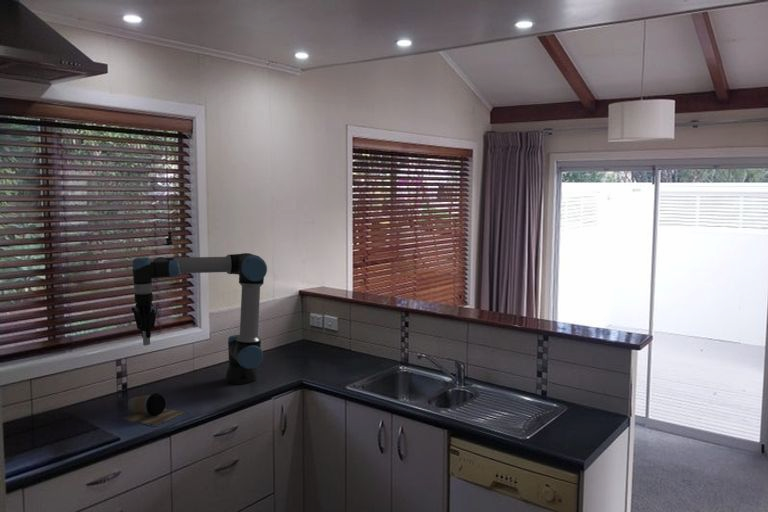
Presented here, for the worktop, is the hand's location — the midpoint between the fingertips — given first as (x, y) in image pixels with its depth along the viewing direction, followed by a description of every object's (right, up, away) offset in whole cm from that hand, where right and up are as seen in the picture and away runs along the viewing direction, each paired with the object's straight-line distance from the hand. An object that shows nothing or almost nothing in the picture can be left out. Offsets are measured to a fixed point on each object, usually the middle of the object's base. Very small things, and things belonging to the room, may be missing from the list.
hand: (146, 344), depth 279 cm
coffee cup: (-2, -24, -9) cm, 26 cm away
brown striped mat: (+8, -29, -13) cm, 33 cm away
